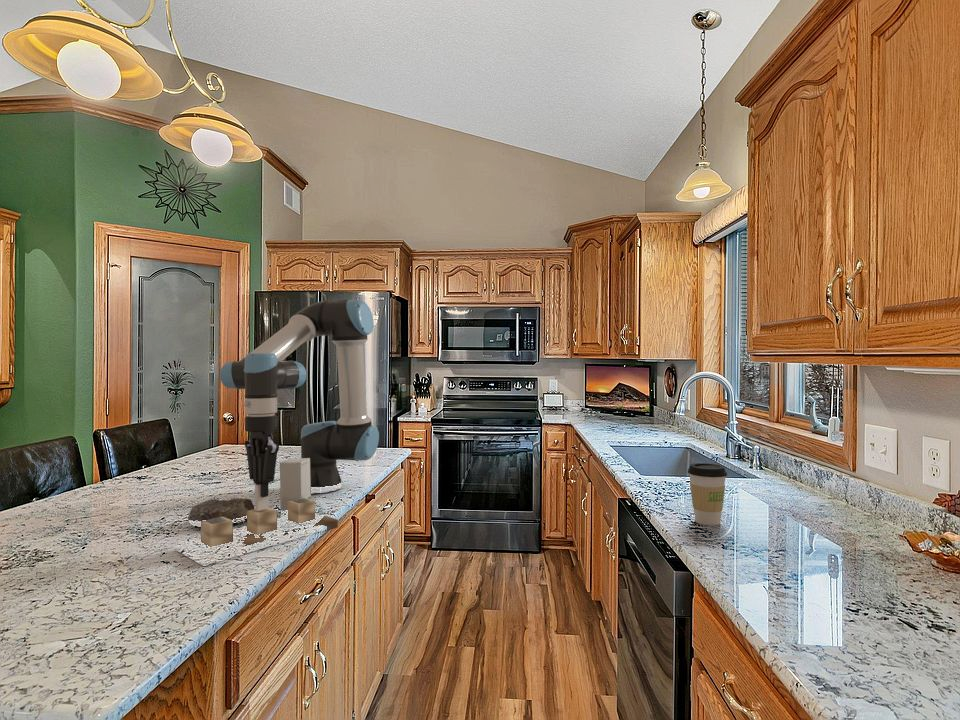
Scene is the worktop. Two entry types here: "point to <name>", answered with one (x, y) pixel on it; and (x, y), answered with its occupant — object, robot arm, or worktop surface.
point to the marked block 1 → (216, 531)
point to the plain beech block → (261, 521)
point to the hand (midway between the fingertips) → (261, 509)
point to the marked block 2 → (301, 510)
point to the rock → (221, 509)
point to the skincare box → (294, 480)
